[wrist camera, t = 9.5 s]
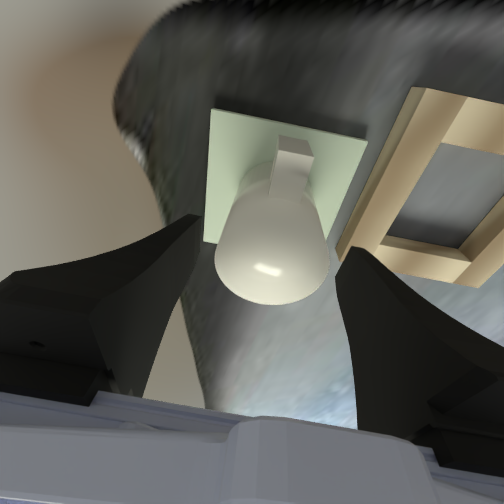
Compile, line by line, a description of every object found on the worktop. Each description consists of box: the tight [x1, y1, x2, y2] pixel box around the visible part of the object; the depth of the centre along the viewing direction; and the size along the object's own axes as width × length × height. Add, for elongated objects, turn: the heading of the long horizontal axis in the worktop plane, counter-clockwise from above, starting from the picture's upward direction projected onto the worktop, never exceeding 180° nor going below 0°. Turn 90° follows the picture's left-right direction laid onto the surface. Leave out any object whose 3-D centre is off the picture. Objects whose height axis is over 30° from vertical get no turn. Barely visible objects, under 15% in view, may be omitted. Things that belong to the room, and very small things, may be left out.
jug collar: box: [335, 87, 504, 288], centre depth 15 cm, size 11×11×2 cm
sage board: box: [204, 108, 368, 244], centre depth 16 cm, size 9×9×1 cm
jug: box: [215, 135, 330, 305], centre depth 13 cm, size 7×5×7 cm
